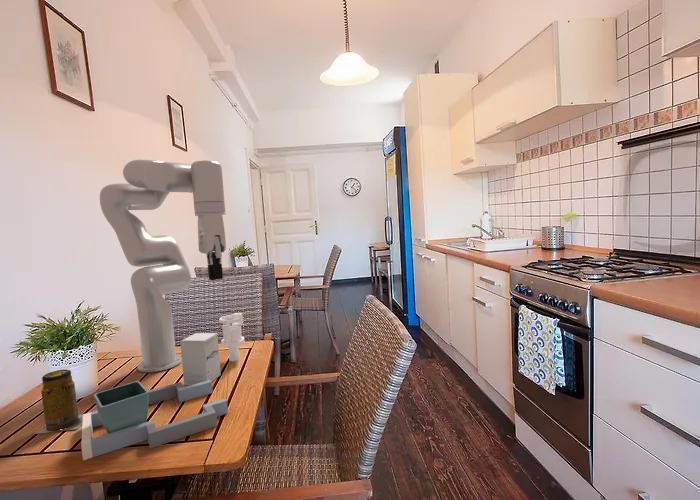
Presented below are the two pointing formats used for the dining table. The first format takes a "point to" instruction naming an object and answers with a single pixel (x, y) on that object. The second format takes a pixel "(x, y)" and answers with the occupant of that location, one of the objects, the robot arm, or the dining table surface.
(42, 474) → the dining table surface
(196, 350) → the supplement box
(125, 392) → the flower pot
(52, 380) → the condiment
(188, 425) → the stepped grey frame
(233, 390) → the dining table surface
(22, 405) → the dining table surface
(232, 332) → the white plastic fitting
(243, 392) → the dining table surface
